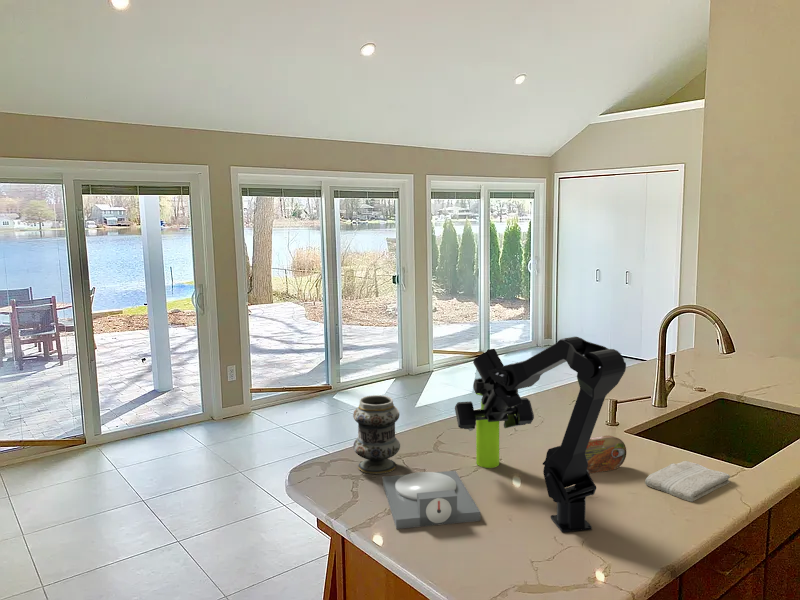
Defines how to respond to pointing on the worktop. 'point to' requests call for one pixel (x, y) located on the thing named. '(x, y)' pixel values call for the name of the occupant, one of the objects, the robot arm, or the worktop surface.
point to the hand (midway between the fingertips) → (487, 427)
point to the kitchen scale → (429, 499)
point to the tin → (605, 454)
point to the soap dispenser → (487, 442)
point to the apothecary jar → (376, 434)
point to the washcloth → (687, 480)
